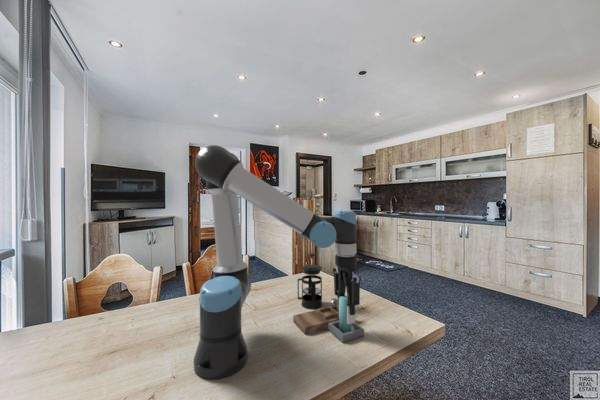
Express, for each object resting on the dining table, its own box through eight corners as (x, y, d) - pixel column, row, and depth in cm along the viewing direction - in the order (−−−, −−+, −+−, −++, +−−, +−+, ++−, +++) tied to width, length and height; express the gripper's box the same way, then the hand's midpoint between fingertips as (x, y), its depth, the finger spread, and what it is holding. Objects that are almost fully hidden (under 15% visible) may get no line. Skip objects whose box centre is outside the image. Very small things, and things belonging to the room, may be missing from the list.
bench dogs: (341, 322, 96) (341, 306, 96) (329, 313, 103) (329, 299, 103) (347, 320, 97) (347, 305, 97) (335, 312, 105) (335, 297, 104)
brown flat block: (304, 336, 88) (304, 324, 87) (293, 323, 97) (293, 312, 96) (342, 325, 94) (342, 314, 94) (328, 314, 103) (328, 304, 103)
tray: (342, 343, 82) (342, 335, 82) (328, 330, 91) (328, 323, 90) (364, 336, 86) (364, 329, 86) (348, 324, 94) (348, 317, 94)
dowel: (343, 335, 86) (342, 301, 86) (337, 329, 89) (337, 296, 89) (353, 333, 87) (352, 299, 87) (347, 327, 91) (346, 295, 91)
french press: (321, 299, 117) (321, 251, 117) (325, 308, 108) (325, 255, 107) (296, 301, 116) (296, 251, 115) (298, 310, 106) (298, 256, 106)
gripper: (370, 258, 82) (371, 328, 82) (340, 248, 97) (341, 308, 98) (352, 261, 79) (353, 334, 79) (324, 250, 94) (324, 312, 95)
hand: (346, 319), depth 88 cm, fingers closed on dowel, 4 cm apart
